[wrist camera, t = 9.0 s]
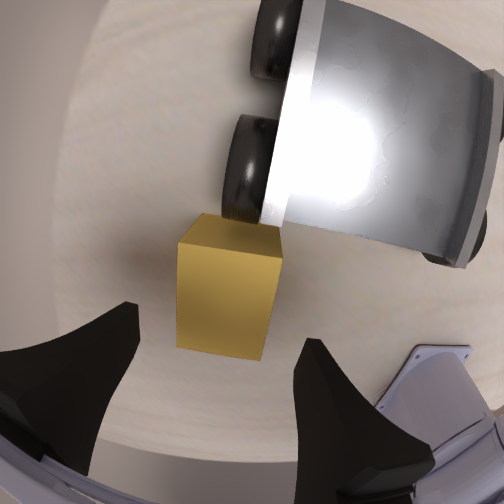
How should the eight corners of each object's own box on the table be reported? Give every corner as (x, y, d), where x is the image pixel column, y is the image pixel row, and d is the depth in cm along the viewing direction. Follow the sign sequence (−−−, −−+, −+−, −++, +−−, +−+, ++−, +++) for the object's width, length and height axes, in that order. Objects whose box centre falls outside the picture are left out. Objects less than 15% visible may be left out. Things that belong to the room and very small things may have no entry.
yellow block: (262, 309, 19) (260, 360, 14) (196, 298, 19) (176, 346, 14) (278, 224, 16) (283, 258, 12) (202, 213, 16) (178, 242, 12)
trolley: (426, 248, 16) (475, 291, 11) (231, 205, 16) (212, 240, 10) (462, 84, 12) (520, 77, 6) (268, 12, 11) (269, -42, 6)
